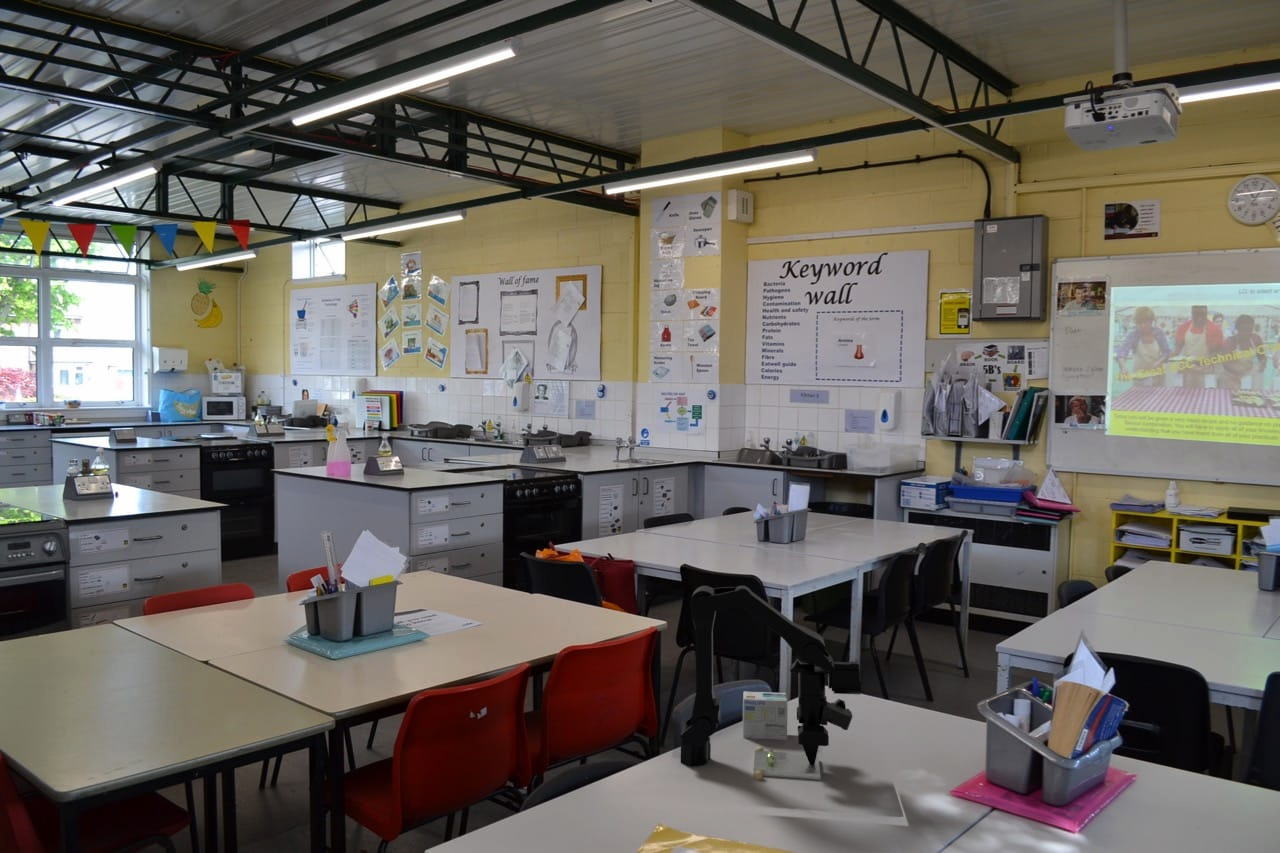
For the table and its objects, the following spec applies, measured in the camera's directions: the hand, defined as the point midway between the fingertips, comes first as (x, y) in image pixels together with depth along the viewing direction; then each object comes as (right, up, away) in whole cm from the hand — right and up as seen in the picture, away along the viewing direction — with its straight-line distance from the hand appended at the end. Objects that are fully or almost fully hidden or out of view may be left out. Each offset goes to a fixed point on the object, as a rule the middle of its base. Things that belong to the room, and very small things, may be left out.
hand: (812, 763), depth 198 cm
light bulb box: (-7, -2, +21) cm, 23 cm away
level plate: (-5, -1, +1) cm, 6 cm away
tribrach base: (-5, -2, +1) cm, 6 cm away
